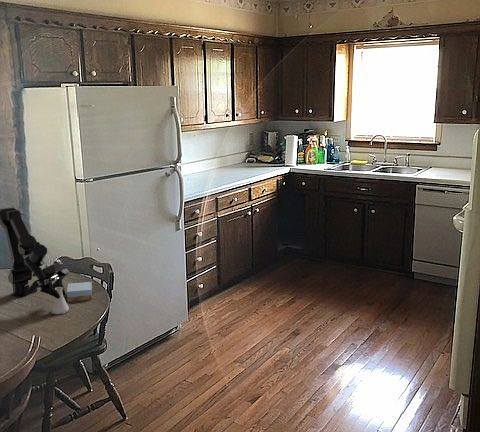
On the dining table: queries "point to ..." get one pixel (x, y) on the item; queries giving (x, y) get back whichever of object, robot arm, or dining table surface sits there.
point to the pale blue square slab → (79, 289)
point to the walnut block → (79, 298)
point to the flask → (60, 303)
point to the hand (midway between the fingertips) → (62, 296)
